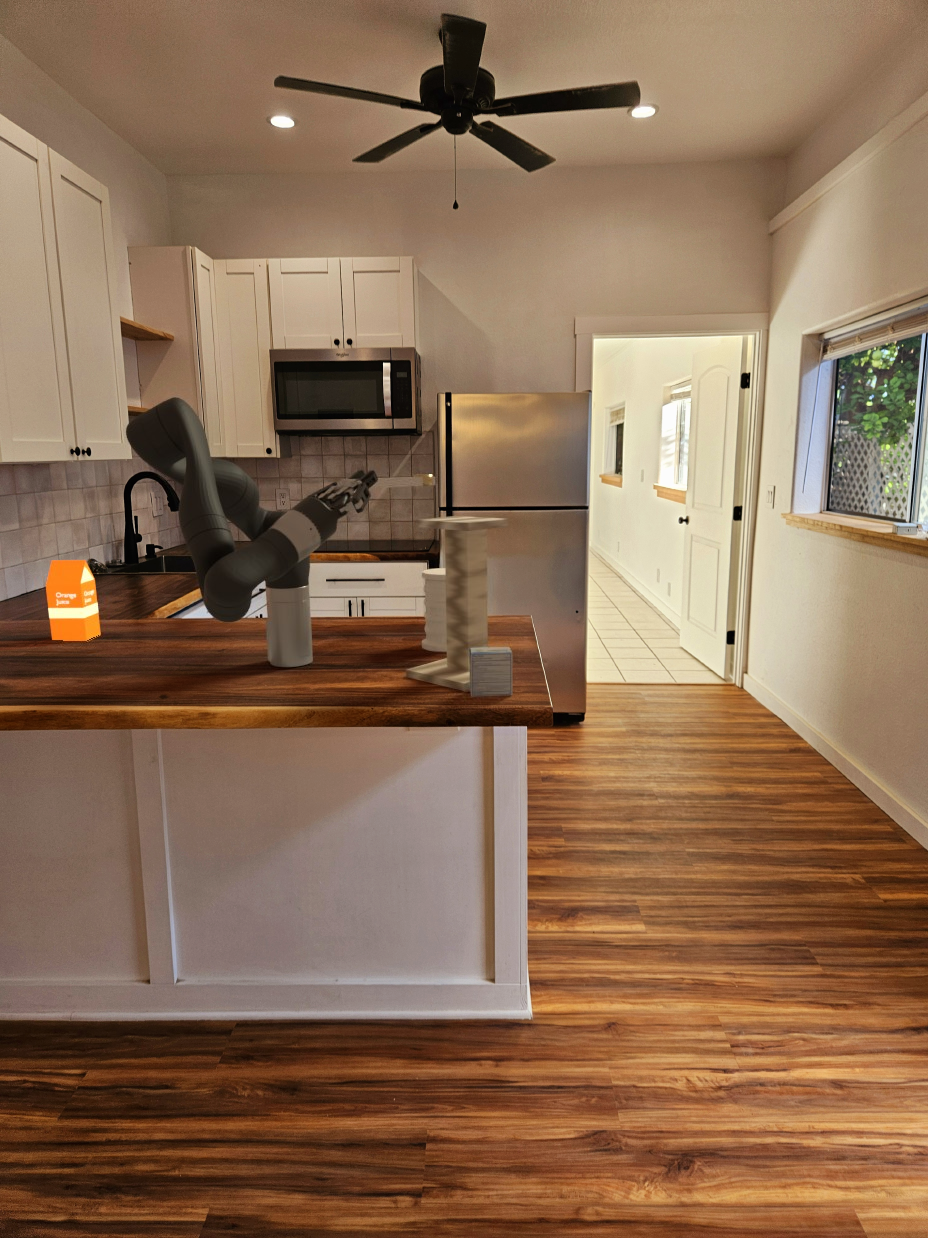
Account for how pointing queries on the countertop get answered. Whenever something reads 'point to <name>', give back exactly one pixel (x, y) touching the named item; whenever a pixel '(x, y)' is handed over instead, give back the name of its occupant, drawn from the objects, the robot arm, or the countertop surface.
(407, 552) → the countertop surface
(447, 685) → the tool stand
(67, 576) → the orange juice
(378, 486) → the slotted wooden block
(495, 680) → the medicine box
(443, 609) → the decorative container
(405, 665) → the countertop surface
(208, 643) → the countertop surface
